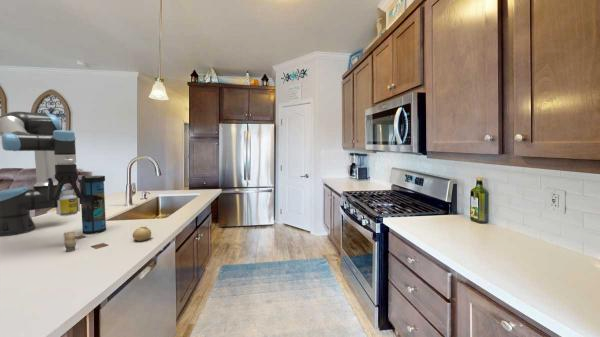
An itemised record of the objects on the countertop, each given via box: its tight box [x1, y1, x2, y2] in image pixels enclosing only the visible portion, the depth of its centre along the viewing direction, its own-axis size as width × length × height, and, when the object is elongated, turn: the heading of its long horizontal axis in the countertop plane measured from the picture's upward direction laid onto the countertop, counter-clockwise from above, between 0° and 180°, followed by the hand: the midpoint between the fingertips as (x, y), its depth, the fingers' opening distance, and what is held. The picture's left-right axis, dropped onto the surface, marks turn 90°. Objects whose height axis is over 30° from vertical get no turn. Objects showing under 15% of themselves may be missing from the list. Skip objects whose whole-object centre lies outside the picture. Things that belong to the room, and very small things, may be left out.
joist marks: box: [75, 234, 109, 250], centre depth 127 cm, size 28×5×1 cm, turn 60°
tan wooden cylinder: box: [63, 230, 77, 253], centre depth 116 cm, size 4×4×8 cm
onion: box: [132, 226, 152, 242], centre depth 130 cm, size 8×8×7 cm
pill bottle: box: [58, 189, 78, 217], centre depth 123 cm, size 6×6×12 cm
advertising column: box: [77, 175, 107, 235], centre depth 141 cm, size 11×11×30 cm
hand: (68, 212), depth 123 cm, fingers closed on pill bottle, 6 cm apart
